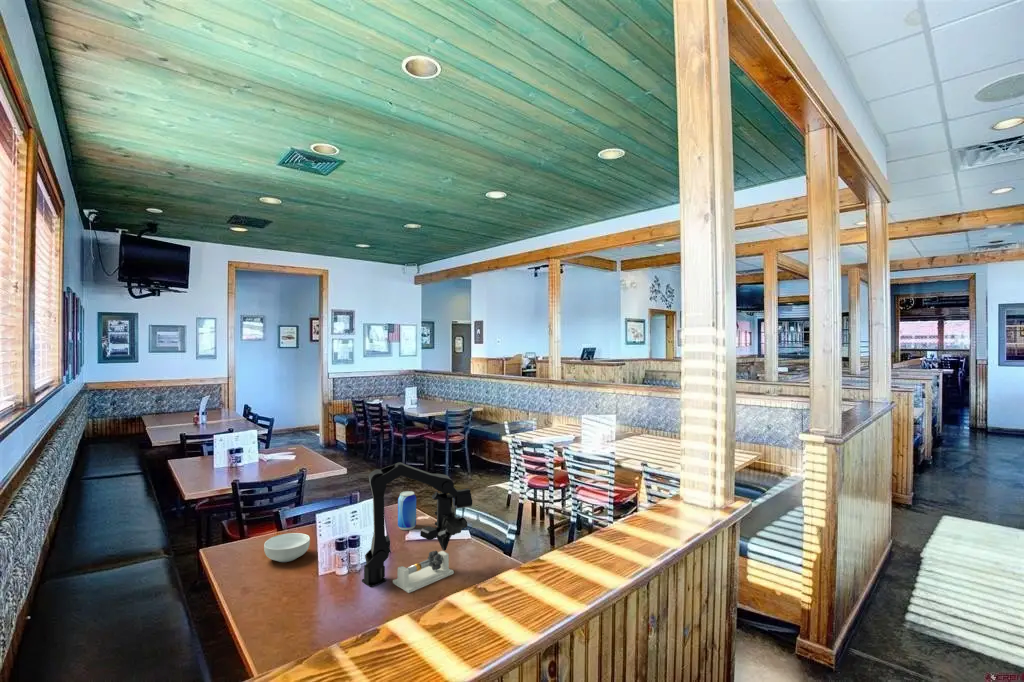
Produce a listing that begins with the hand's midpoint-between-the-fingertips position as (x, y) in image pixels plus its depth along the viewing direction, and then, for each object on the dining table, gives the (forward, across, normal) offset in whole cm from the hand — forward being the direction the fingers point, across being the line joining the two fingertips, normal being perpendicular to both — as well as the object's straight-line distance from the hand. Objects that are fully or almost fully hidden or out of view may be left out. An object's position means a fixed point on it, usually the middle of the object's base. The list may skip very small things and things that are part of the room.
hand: (444, 550), depth 188 cm
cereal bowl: (+8, -37, +53) cm, 65 cm away
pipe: (+4, -10, 0) cm, 10 cm away
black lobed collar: (+6, -5, 0) cm, 7 cm away
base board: (+7, -10, 0) cm, 12 cm away
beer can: (+8, +15, +46) cm, 49 cm away
